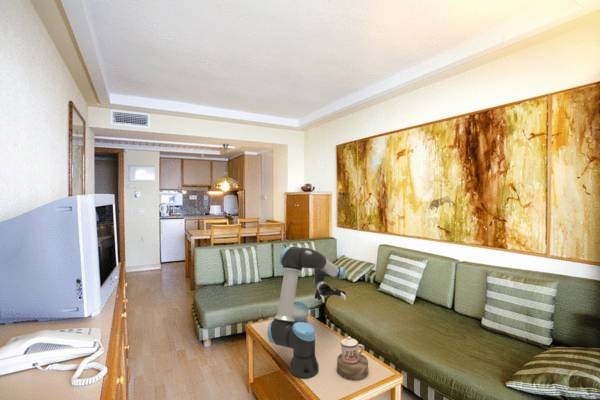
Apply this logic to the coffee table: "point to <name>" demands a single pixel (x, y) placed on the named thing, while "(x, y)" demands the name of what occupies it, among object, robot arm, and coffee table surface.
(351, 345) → the teacup with lid
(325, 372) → the coffee table surface
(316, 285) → the robot arm
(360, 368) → the walnut riser
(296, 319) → the decorative ball
